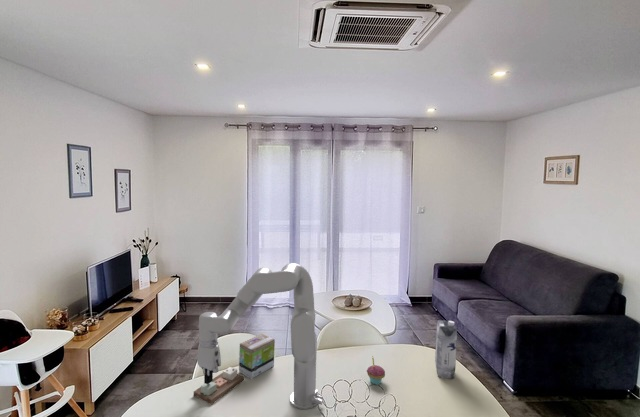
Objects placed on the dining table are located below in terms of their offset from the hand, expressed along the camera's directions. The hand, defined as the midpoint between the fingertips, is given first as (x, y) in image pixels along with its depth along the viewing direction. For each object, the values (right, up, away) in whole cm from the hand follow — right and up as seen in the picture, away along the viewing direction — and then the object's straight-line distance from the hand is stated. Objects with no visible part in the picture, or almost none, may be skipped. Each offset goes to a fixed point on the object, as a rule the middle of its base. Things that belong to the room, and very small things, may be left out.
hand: (208, 382), depth 145 cm
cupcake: (+75, -7, +13) cm, 77 cm away
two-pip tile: (+6, -3, +12) cm, 14 cm away
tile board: (+3, -6, +6) cm, 9 cm away
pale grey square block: (0, -4, 0) cm, 4 cm away
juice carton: (+111, -7, +21) cm, 113 cm away
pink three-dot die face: (+3, -6, +6) cm, 9 cm away
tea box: (+17, -5, +22) cm, 28 cm away
